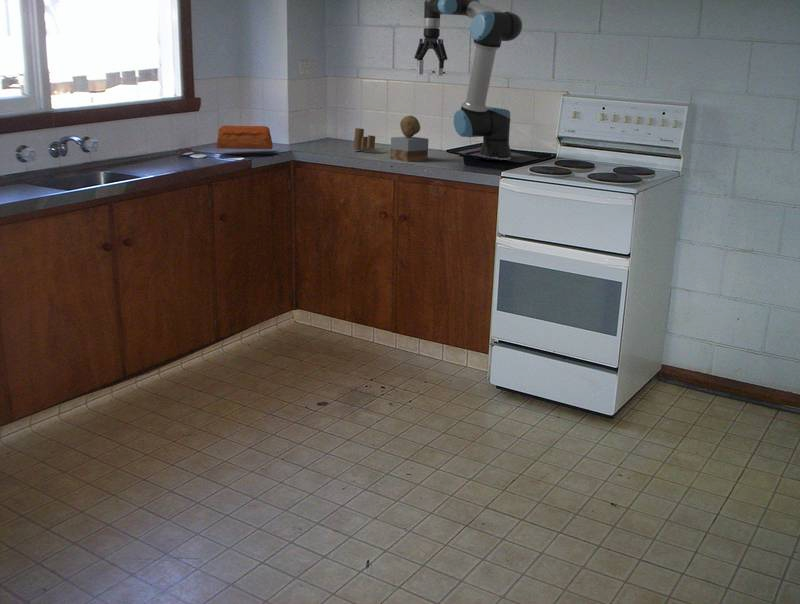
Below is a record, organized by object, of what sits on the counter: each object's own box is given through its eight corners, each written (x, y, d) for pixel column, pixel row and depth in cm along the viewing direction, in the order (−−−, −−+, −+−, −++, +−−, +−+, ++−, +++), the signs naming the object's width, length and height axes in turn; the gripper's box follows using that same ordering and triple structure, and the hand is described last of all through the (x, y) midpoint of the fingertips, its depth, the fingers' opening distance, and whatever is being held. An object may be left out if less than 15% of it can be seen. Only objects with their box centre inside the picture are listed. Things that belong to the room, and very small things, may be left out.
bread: (218, 145, 435) (217, 124, 432) (272, 146, 438) (272, 125, 435) (215, 149, 420) (214, 126, 417) (272, 150, 423) (271, 127, 420)
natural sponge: (415, 136, 402) (416, 114, 399) (422, 139, 394) (423, 116, 391) (397, 136, 399) (397, 114, 396) (404, 139, 391) (404, 116, 388)
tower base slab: (427, 160, 399) (427, 149, 397) (407, 162, 391) (407, 151, 390) (410, 158, 407) (410, 147, 406) (390, 159, 400) (390, 148, 399)
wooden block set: (377, 152, 423) (379, 131, 421) (360, 151, 420) (362, 129, 418) (365, 149, 440) (367, 128, 437) (349, 148, 436) (351, 127, 434)
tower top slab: (428, 149, 397) (428, 138, 396) (407, 151, 390) (408, 139, 388) (410, 147, 406) (411, 136, 404) (390, 148, 398) (391, 137, 397)
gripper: (456, 28, 403) (454, 76, 409) (419, 28, 421) (418, 73, 427) (444, 27, 398) (442, 76, 404) (408, 27, 416) (406, 73, 422)
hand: (430, 75), depth 415 cm, fingers open, 13 cm apart
